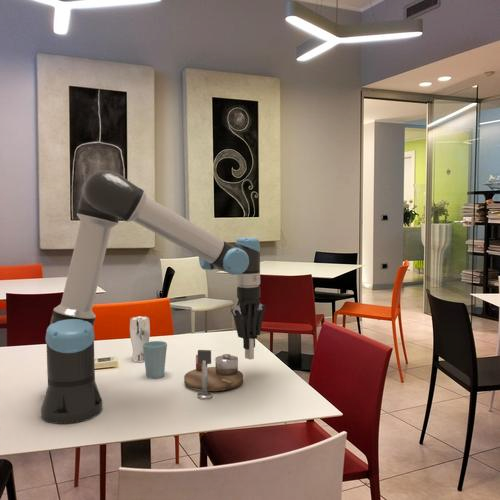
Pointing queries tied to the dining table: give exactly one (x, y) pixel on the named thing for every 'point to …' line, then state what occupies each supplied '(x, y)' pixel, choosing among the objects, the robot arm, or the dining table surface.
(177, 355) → the dining table surface
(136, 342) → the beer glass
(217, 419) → the dining table surface
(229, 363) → the cover
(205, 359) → the indicator post
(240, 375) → the turntable
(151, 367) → the cup
